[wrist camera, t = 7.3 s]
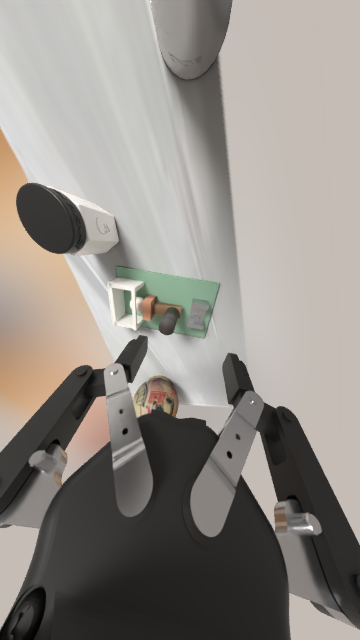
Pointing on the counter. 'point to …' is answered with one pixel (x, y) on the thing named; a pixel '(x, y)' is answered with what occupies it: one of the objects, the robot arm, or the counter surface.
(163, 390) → the ceramic jug
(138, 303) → the ball
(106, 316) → the counter surface
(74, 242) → the jar
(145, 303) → the wooden peg with knob
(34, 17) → the counter surface
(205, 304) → the bracket
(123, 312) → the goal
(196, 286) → the pitch mat
